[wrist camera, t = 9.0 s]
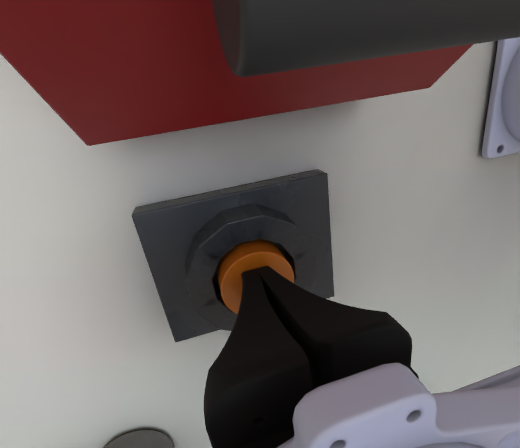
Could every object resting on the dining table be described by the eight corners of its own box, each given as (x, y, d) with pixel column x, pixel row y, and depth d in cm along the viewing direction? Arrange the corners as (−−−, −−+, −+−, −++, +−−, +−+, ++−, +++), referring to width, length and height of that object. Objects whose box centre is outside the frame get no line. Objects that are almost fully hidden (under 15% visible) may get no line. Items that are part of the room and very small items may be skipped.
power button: (279, 229, 15) (290, 243, 13) (286, 287, 16) (298, 306, 15) (210, 246, 14) (213, 263, 13) (224, 304, 16) (228, 326, 14)
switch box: (318, 168, 16) (345, 180, 14) (326, 286, 20) (349, 314, 17) (134, 207, 15) (123, 229, 12) (175, 329, 18) (174, 368, 15)
